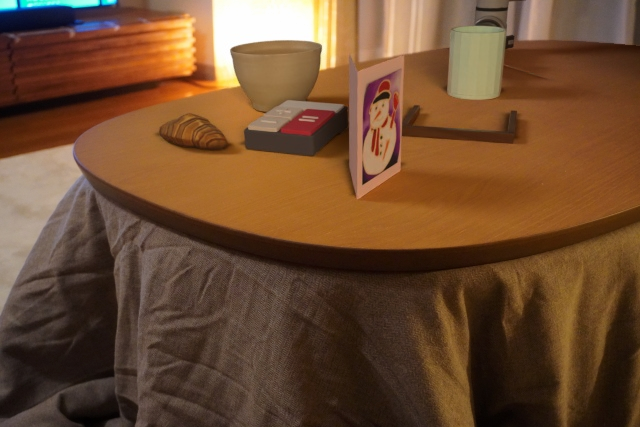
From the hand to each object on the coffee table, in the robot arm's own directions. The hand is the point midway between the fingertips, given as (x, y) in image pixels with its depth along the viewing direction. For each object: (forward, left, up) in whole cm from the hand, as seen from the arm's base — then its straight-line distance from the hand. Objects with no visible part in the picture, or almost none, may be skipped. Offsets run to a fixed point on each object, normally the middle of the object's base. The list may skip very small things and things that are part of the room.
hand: (477, 53), depth 121 cm
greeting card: (-40, +40, -7) cm, 57 cm away
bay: (-24, +17, -7) cm, 30 cm away
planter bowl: (0, +40, -7) cm, 41 cm away
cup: (-4, +3, -7) cm, 9 cm away
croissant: (-17, +58, -7) cm, 61 cm away
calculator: (-19, +42, -7) cm, 47 cm away
